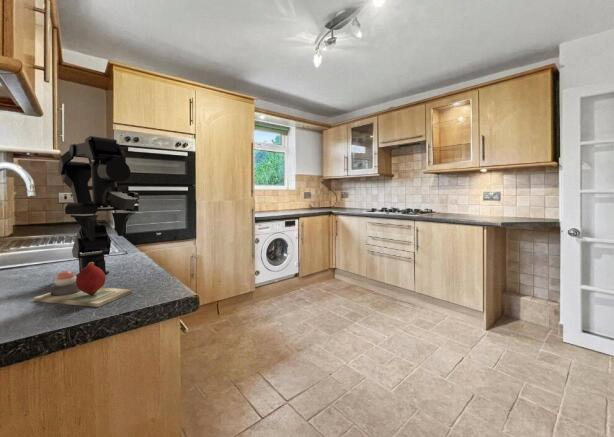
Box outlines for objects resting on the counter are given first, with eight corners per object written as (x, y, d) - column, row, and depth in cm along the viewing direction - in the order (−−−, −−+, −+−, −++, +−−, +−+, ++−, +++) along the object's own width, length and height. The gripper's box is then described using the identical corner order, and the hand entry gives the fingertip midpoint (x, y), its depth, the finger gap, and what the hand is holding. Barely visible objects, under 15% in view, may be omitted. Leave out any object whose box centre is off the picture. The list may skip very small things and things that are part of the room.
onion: (91, 299, 68) (89, 265, 67) (70, 298, 69) (68, 264, 68) (111, 291, 74) (110, 260, 73) (91, 290, 74) (90, 259, 74)
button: (50, 286, 72) (49, 272, 72) (67, 281, 76) (66, 268, 76) (64, 287, 71) (63, 273, 71) (80, 282, 75) (80, 269, 75)
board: (33, 301, 70) (32, 289, 69) (74, 288, 79) (73, 278, 79) (97, 306, 66) (97, 294, 66) (132, 292, 76) (131, 282, 76)
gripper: (99, 181, 71) (102, 244, 73) (153, 184, 90) (154, 234, 91) (61, 181, 74) (65, 242, 75) (121, 184, 92) (123, 233, 93)
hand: (106, 238), depth 83 cm, fingers open, 9 cm apart
